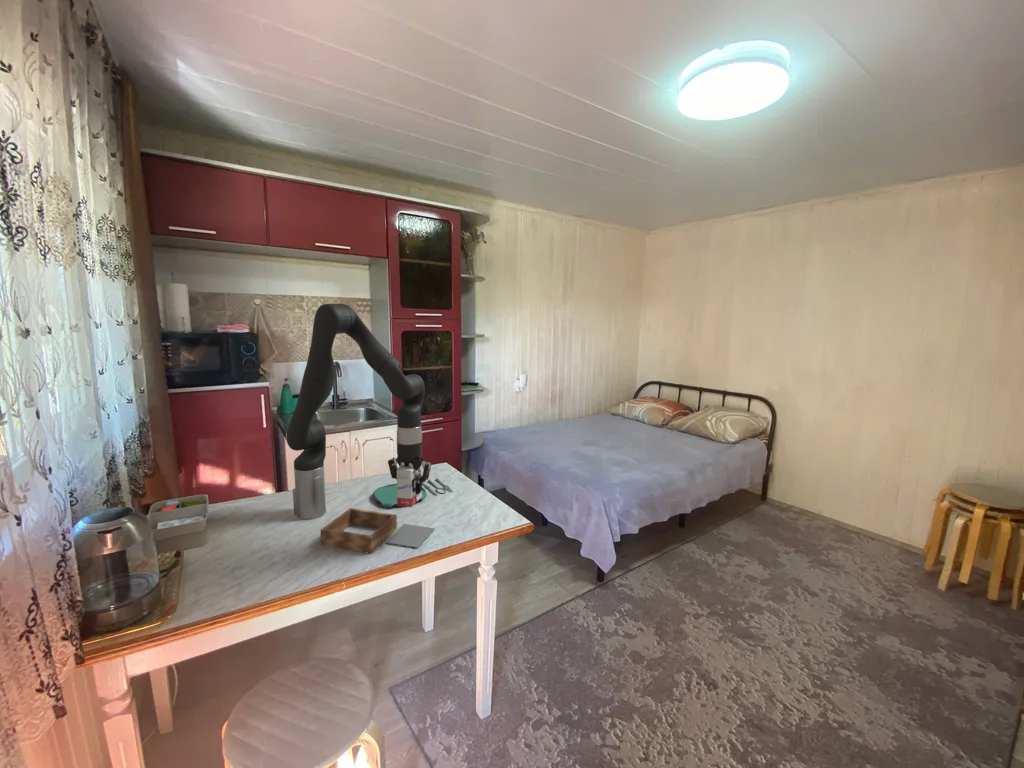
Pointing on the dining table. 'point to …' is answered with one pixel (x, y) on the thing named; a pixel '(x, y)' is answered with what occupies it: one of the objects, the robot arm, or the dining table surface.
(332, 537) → the wooden tray
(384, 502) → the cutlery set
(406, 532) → the rubber mat
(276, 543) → the dining table surface
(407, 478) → the ink box
